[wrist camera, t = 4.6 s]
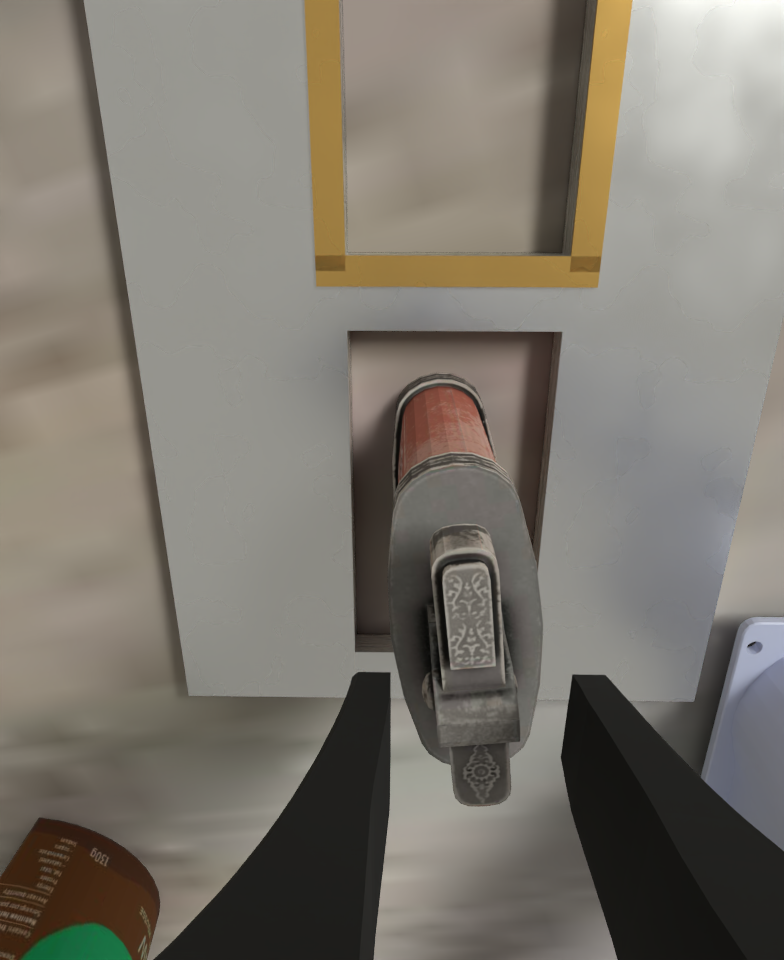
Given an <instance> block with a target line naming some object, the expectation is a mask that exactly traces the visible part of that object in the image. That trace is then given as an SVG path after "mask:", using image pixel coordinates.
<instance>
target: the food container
mask: <svg viewBox="0 0 784 960" xmlns="http://www.w3.org/2000/svg"><path fill="white" fill-rule="evenodd" d="M159 909H160V898H159V892H158V889H157V887H156V884H155V881H154V880H153V878H152V876H151V875H150V873H149V872H148V870H147V869H146V868H145V867H144V865H143V864H142V863H141V862H140V861H139V860H138V859H137V858H136V857H135V856H134V855H132V854H131V853H130V852H129V851H128V850H126V849H125V848H124V847H122V846H120V845H119V844H117V843H116V842H114V841H113V840H111V839H109V838H107V837H105V836H103V835H101V834H99V833H97V832H94V831H92V830H89V829H86V828H84V827H81V826H78V825H74V824H70V823H66V822H62V821H58V820H51V819H44V818H39V819H38V820H37V822H36V823H35V825H34V826H33V828H32V830H31V831H30V833H29V834H28V836H27V837H26V839H25V840H24V842H23V843H22V845H21V846H20V848H19V849H18V851H17V852H16V854H15V856H14V857H13V859H12V860H11V862H10V863H9V865H8V866H7V868H6V869H5V871H4V872H3V874H2V875H1V877H0V960H147V957H148V953H149V949H150V945H151V942H152V938H153V934H154V930H155V927H156V923H157V919H158V915H159Z"/></svg>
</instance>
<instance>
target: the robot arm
mask: <svg viewBox="0 0 784 960" xmlns="http://www.w3.org/2000/svg"><path fill="white" fill-rule="evenodd" d="M755 641H756V643H755V644H754V645H753V646H750V647H747V646H748V645H749V644H750V643H752V642H755ZM390 705H391V672H357V673H356V674H355V675H354V676H353V677H352V679H351V683H350V686H349V689H348V692H347V695H346V698H345V700H344V703H343V705H342V707H341V710H340V712H339V714H338V716H337V718H336V721H335V723H334V725H333V727H332V729H331V731H330V733H329V735H328V737H327V738H326V740H325V742H324V744H323V746H322V748H321V750H320V752H319V754H318V756H317V757H316V759H315V761H314V763H313V764H312V766H311V768H310V769H309V771H308V773H307V774H306V776H305V777H304V779H303V781H302V782H301V784H300V786H299V787H298V789H297V791H296V792H295V794H294V795H293V797H292V798H291V800H290V801H289V803H288V804H287V806H286V807H285V809H284V810H283V812H282V813H281V815H280V816H279V818H278V819H277V820H276V822H275V823H274V825H273V826H272V827H271V829H270V830H269V831H268V833H267V834H266V836H265V837H264V838H263V840H262V841H261V842H260V844H259V845H258V846H257V847H256V849H255V850H254V851H253V852H252V854H251V855H250V856H249V857H248V858H247V860H246V861H245V862H244V863H243V865H242V866H241V867H240V868H239V870H238V871H237V872H236V873H235V875H234V876H233V877H232V878H231V879H230V880H229V882H228V883H227V884H226V885H225V886H224V887H223V889H222V890H221V891H220V892H219V893H218V894H217V895H216V896H215V897H214V898H213V899H212V901H211V902H210V903H209V904H208V905H207V906H206V907H205V908H204V909H203V910H202V911H201V912H200V913H199V914H198V915H197V916H196V918H195V919H194V920H193V921H192V922H191V923H190V924H189V925H188V926H187V927H186V928H185V929H184V930H183V931H182V932H181V933H180V935H179V936H178V937H177V938H176V939H175V940H174V941H173V942H172V943H171V944H170V945H169V946H168V947H167V948H165V949H164V950H163V951H162V952H161V953H160V954H159V955H158V956H157V957H156V958H155V959H154V960H373V959H374V946H375V934H376V925H377V916H378V907H379V898H380V889H381V881H382V872H383V863H384V854H385V845H386V836H387V827H388V818H389V806H390ZM561 760H562V766H563V771H564V777H565V782H566V787H567V792H568V797H569V802H570V807H571V812H572V815H573V818H574V822H575V825H576V828H577V831H578V834H579V838H580V841H581V844H582V847H583V850H584V854H585V857H586V860H587V863H588V866H589V869H590V872H591V875H592V879H593V882H594V885H595V888H596V891H597V894H598V897H599V900H600V904H601V907H602V910H603V913H604V916H605V919H606V922H607V925H608V928H609V932H610V935H611V938H612V941H613V945H614V948H615V952H616V955H617V959H618V960H784V617H753V618H749V619H747V620H745V621H744V622H742V623H741V624H740V626H739V628H738V631H737V635H736V639H735V643H734V647H733V651H732V655H731V659H730V663H729V667H728V671H727V675H726V679H725V683H724V687H723V691H722V695H721V699H720V703H719V707H718V711H717V714H716V718H715V722H714V726H713V730H712V734H711V738H710V742H709V746H708V750H707V754H706V758H705V762H704V766H703V770H702V774H701V777H700V776H699V775H697V774H696V773H695V772H694V771H693V770H692V769H691V768H690V766H689V765H688V764H687V763H686V762H685V761H684V760H683V759H682V758H681V757H680V756H679V755H678V754H677V753H676V752H675V751H674V750H673V749H672V748H671V747H670V746H669V745H668V744H667V743H666V742H665V740H664V739H663V738H662V737H661V736H660V735H659V734H658V733H657V732H656V731H655V730H654V729H653V727H652V726H651V725H650V724H649V723H648V722H647V721H646V720H645V719H644V717H643V716H642V715H641V714H640V713H639V712H638V711H637V710H636V709H635V707H634V706H633V705H632V704H631V703H630V702H629V701H628V699H627V698H626V697H625V696H624V695H623V694H622V693H621V692H620V690H619V689H618V688H617V687H616V686H615V685H614V684H613V683H612V681H611V680H610V679H609V678H608V677H607V676H606V675H578V674H572V681H571V688H570V695H569V703H568V710H567V717H566V725H565V732H564V739H563V747H562V754H561Z"/></svg>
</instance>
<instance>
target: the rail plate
mask: <svg viewBox="0 0 784 960" xmlns="http://www.w3.org/2000/svg"><path fill="white" fill-rule="evenodd" d="M84 6H85V12H86V19H87V26H88V32H89V39H90V45H91V52H92V59H93V65H94V72H95V79H96V85H97V92H98V98H99V105H100V112H101V118H102V125H103V132H104V138H105V145H106V151H107V158H108V165H109V171H110V178H111V185H112V191H113V198H114V204H115V211H116V218H117V224H118V231H119V238H120V244H121V251H122V257H123V264H124V271H125V277H126V284H127V291H128V297H129V304H130V310H131V317H132V324H133V330H134V337H135V344H136V350H137V357H138V363H139V370H140V377H141V383H142V390H143V397H144V403H145V410H146V416H147V423H148V430H149V436H150V443H151V449H152V456H153V463H154V469H155V476H156V483H157V489H158V496H159V502H160V509H161V516H162V522H163V529H164V536H165V542H166V549H167V555H168V562H169V569H170V575H171V582H172V589H173V595H174V602H175V608H176V615H177V622H178V628H179V635H180V642H181V648H182V655H183V661H184V668H185V675H186V681H187V688H188V695H189V696H249V697H334V698H346V695H347V692H348V689H349V686H350V683H351V679H352V677H353V676H354V675H355V674H356V673H357V672H391V698H404V696H403V691H402V687H401V682H400V678H399V674H398V669H397V665H396V660H395V656H394V651H393V647H392V642H391V635H367V634H357V621H356V577H355V533H354V489H353V445H352V401H351V357H350V331H526V332H554V340H553V350H552V360H551V370H550V381H549V391H548V401H547V411H546V421H545V431H544V442H543V452H542V462H541V472H540V482H539V492H538V502H537V513H536V523H535V533H534V543H533V552H534V556H535V560H536V564H537V572H538V581H539V590H540V599H541V608H542V617H543V625H544V628H543V645H542V662H541V678H540V687H539V692H538V697H537V700H569V695H570V688H571V681H572V674H578V675H606V676H607V677H608V678H609V679H610V680H611V681H612V683H613V684H614V685H615V686H616V687H617V688H618V689H619V690H620V692H621V693H622V694H623V695H624V696H625V697H626V698H627V699H628V701H671V702H694V700H695V696H696V691H697V687H698V683H699V678H700V674H701V670H702V665H703V661H704V657H705V653H706V648H707V644H708V640H709V635H710V631H711V627H712V622H713V618H714V614H715V610H716V605H717V601H718V597H719V592H720V588H721V584H722V579H723V575H724V571H725V566H726V562H727V558H728V554H729V549H730V545H731V541H732V536H733V532H734V528H735V523H736V519H737V515H738V511H739V506H740V502H741V498H742V493H743V489H744V485H745V480H746V476H747V472H748V468H749V463H750V459H751V455H752V450H753V446H754V442H755V437H756V433H757V429H758V425H759V420H760V416H761V412H762V407H763V403H764V399H765V394H766V390H767V386H768V381H769V377H770V373H771V369H772V364H773V360H774V356H775V351H776V347H777V343H778V338H779V334H780V330H781V326H782V321H783V317H784V0H587V5H586V15H585V25H584V35H583V46H582V56H581V66H580V76H579V86H578V96H577V107H576V117H575V127H574V137H573V147H572V157H571V167H570V178H569V188H568V198H567V208H566V218H565V228H564V239H563V249H562V253H401V252H348V225H347V181H346V137H345V93H344V49H343V5H342V0H84Z"/></svg>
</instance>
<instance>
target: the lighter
mask: <svg viewBox="0 0 784 960" xmlns="http://www.w3.org/2000/svg"><path fill="white" fill-rule="evenodd" d="M392 474H393V497H394V501H393V512H392V524H391V535H390V546H389V558H388V594H389V613H390V633H391V642H392V647H393V651H394V656H395V660H396V665H397V669H398V674H399V678H400V682H401V687H402V691H403V696H404V698H405V701H406V703H407V706H408V709H409V711H410V714H411V716H412V719H413V722H414V724H415V727H416V729H417V732H418V735H419V737H420V740H421V742H422V744H423V746H424V747H425V749H426V750H427V751H428V753H429V754H430V755H432V756H433V757H435V758H436V759H438V760H440V761H441V762H443V763H446V764H450V765H451V773H452V782H453V791H454V794H455V798H456V799H457V800H458V801H459V802H460V803H461V804H464V805H467V806H490V805H496V804H500V803H502V802H503V801H505V800H506V799H507V798H508V797H509V795H510V792H511V774H510V758H511V757H513V756H514V755H515V754H516V753H517V752H519V751H520V750H521V749H522V748H523V747H524V745H525V743H526V741H527V739H528V737H529V735H530V730H531V725H532V721H533V716H534V711H535V706H536V702H537V697H538V692H539V687H540V678H541V662H542V645H543V628H544V625H543V617H542V608H541V599H540V590H539V581H538V572H537V564H536V560H535V556H534V552H533V548H532V544H531V541H530V537H529V533H528V529H527V525H526V521H525V517H524V514H523V510H522V506H521V502H520V499H519V496H518V494H517V491H516V489H515V486H514V484H513V482H512V481H511V479H510V477H509V475H508V473H507V471H506V470H504V469H503V468H502V467H501V466H499V465H498V464H497V459H496V452H495V448H494V444H493V441H492V437H491V433H490V429H489V426H488V422H487V418H486V414H485V411H484V407H483V404H482V401H481V399H480V397H479V395H478V393H477V391H476V389H475V387H474V386H473V385H471V384H470V383H469V382H468V381H467V380H465V379H464V378H462V377H459V376H456V375H453V374H451V373H433V374H429V375H425V376H421V377H419V378H418V379H416V380H415V381H413V382H411V383H410V384H408V385H407V387H406V388H405V389H404V390H403V392H402V393H401V394H400V396H399V399H398V403H397V406H396V416H395V428H394V440H393V451H392Z"/></svg>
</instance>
